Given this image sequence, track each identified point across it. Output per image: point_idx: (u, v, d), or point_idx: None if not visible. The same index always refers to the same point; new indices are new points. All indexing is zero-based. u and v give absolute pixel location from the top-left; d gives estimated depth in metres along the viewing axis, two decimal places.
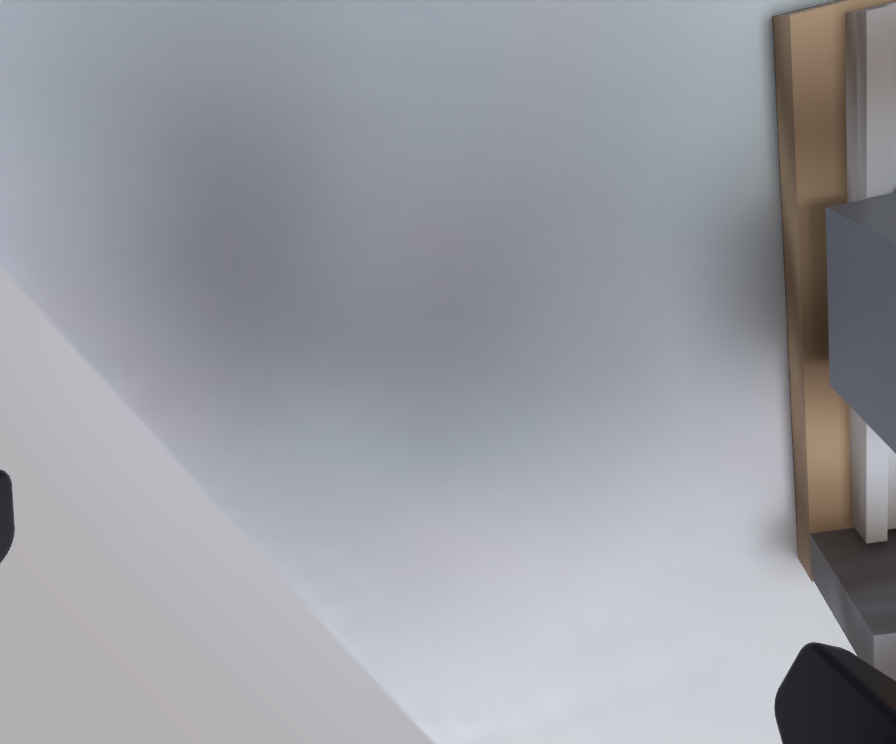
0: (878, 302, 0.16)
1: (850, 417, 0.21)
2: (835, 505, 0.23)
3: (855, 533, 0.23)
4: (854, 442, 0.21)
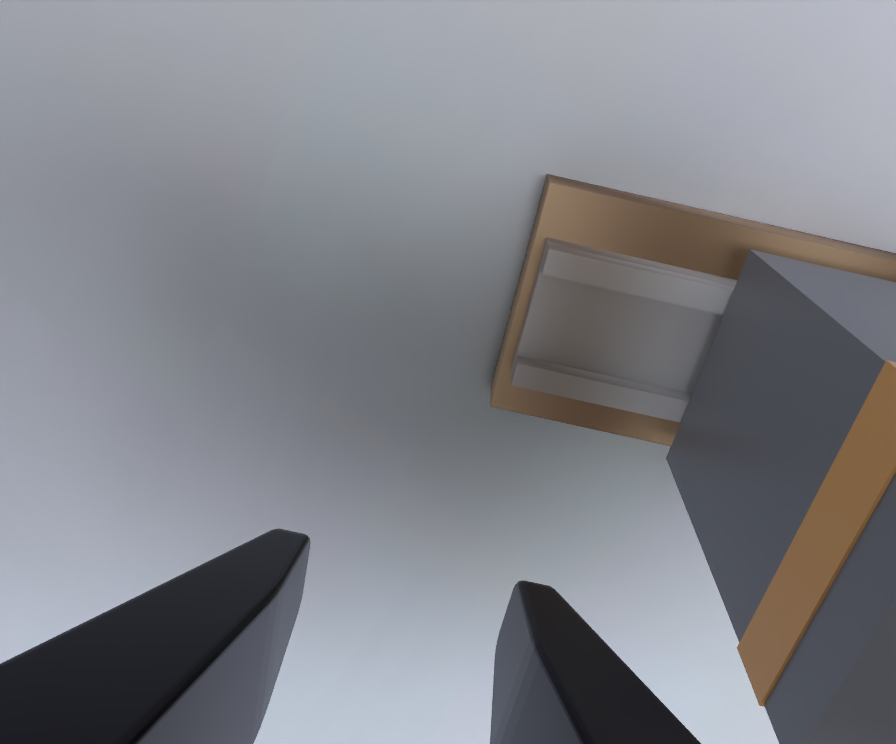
0: None
1: None
2: None
3: None
4: None
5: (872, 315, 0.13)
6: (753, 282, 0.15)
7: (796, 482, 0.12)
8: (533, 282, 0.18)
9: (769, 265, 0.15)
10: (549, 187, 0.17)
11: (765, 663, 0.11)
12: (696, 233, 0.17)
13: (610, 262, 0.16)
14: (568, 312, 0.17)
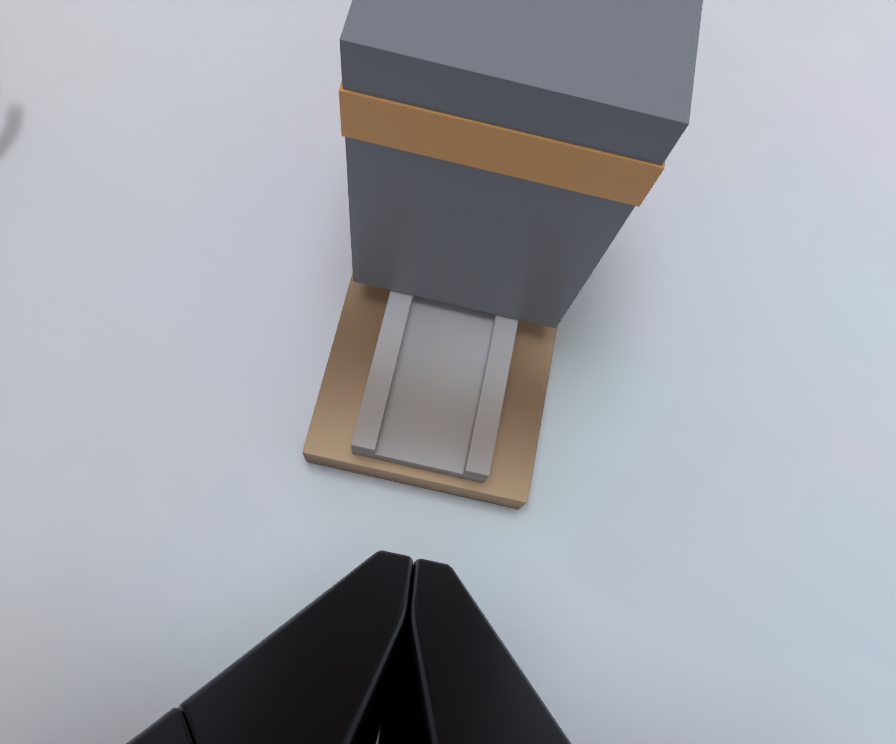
0: None
1: None
2: None
3: None
4: None
5: None
6: (372, 271, 0.18)
7: (473, 187, 0.14)
8: (395, 463, 0.19)
9: (352, 259, 0.18)
10: (306, 452, 0.19)
11: (625, 173, 0.12)
12: (351, 328, 0.20)
13: (364, 390, 0.18)
14: (417, 427, 0.18)
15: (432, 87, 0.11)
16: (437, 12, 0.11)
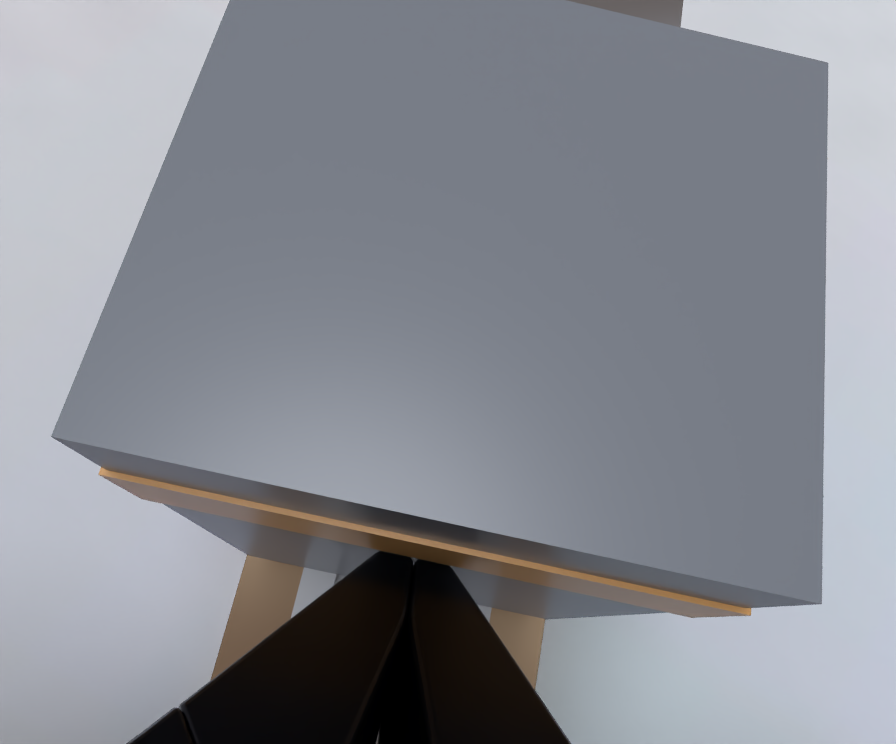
0: None
1: None
2: None
3: None
4: None
5: None
6: (270, 556, 0.12)
7: None
8: None
9: (237, 547, 0.12)
10: None
11: (672, 603, 0.06)
12: (242, 642, 0.13)
13: None
14: None
15: (274, 497, 0.05)
16: (278, 352, 0.05)
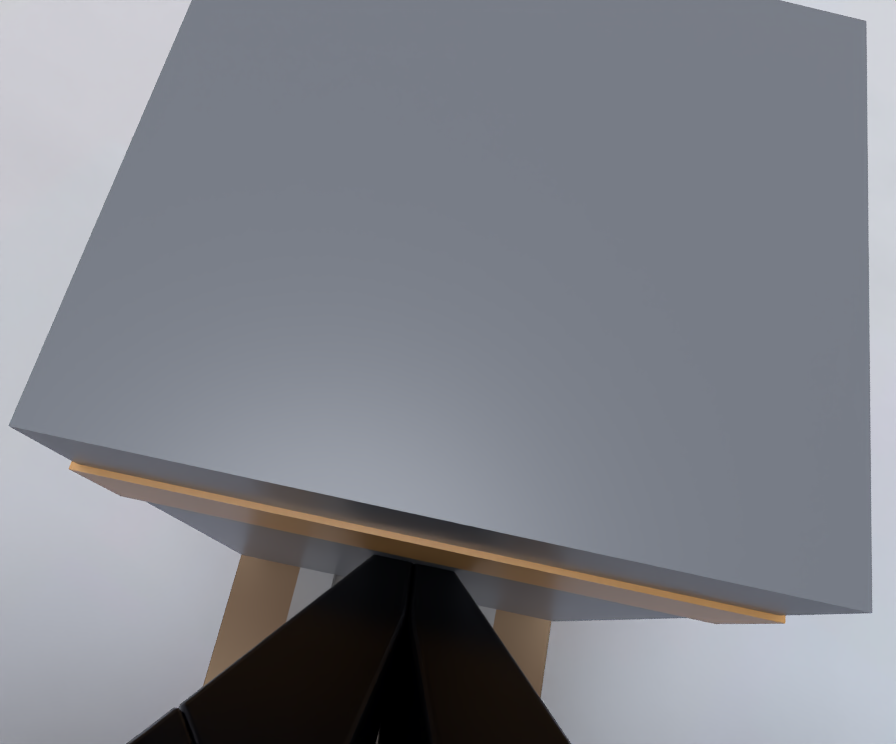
0: None
1: None
2: None
3: None
4: None
5: None
6: (265, 556, 0.12)
7: (395, 556, 0.07)
8: None
9: (230, 546, 0.11)
10: None
11: (697, 609, 0.06)
12: None
13: None
14: None
15: (261, 493, 0.05)
16: (265, 332, 0.05)
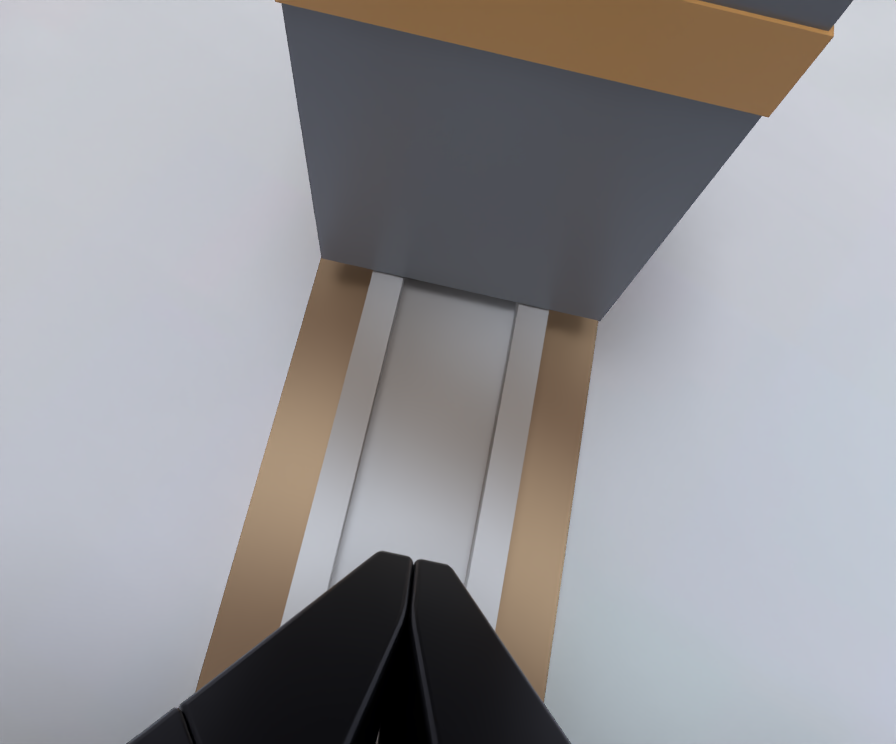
0: None
1: None
2: None
3: None
4: None
5: None
6: (346, 243, 0.13)
7: (493, 94, 0.09)
8: None
9: (317, 225, 0.13)
10: None
11: (759, 50, 0.07)
12: (235, 630, 0.13)
13: None
14: None
15: None
16: None
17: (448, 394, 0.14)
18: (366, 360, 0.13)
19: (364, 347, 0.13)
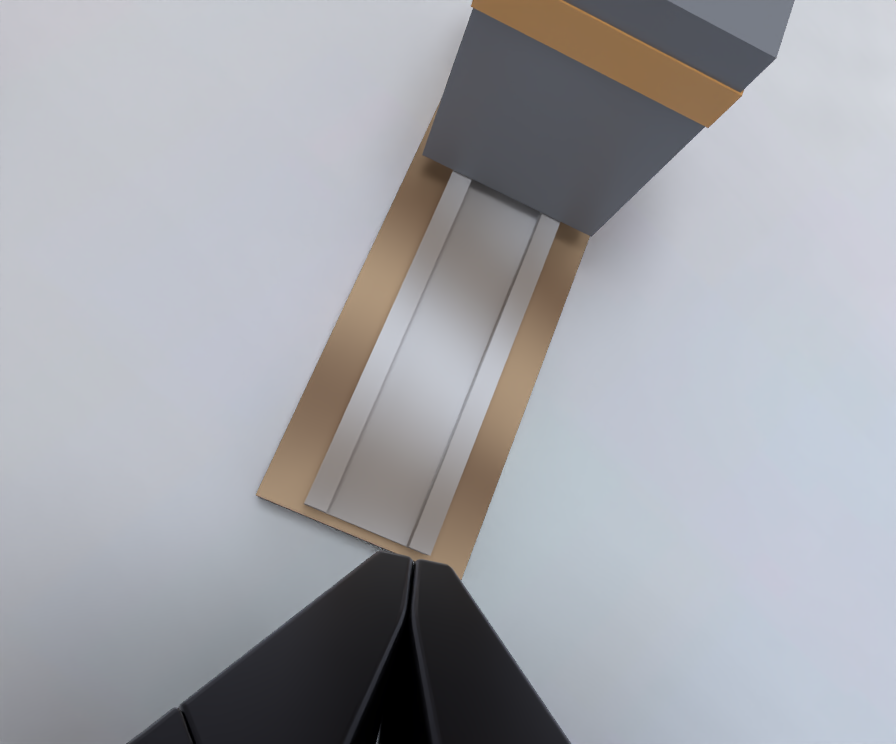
0: None
1: None
2: None
3: None
4: None
5: None
6: (443, 147, 0.20)
7: (570, 81, 0.16)
8: (343, 521, 0.19)
9: (430, 132, 0.19)
10: (259, 495, 0.19)
11: (707, 93, 0.14)
12: (326, 377, 0.20)
13: (327, 451, 0.18)
14: (371, 493, 0.19)
15: None
16: None
17: (484, 262, 0.21)
18: (439, 227, 0.20)
19: (439, 218, 0.20)
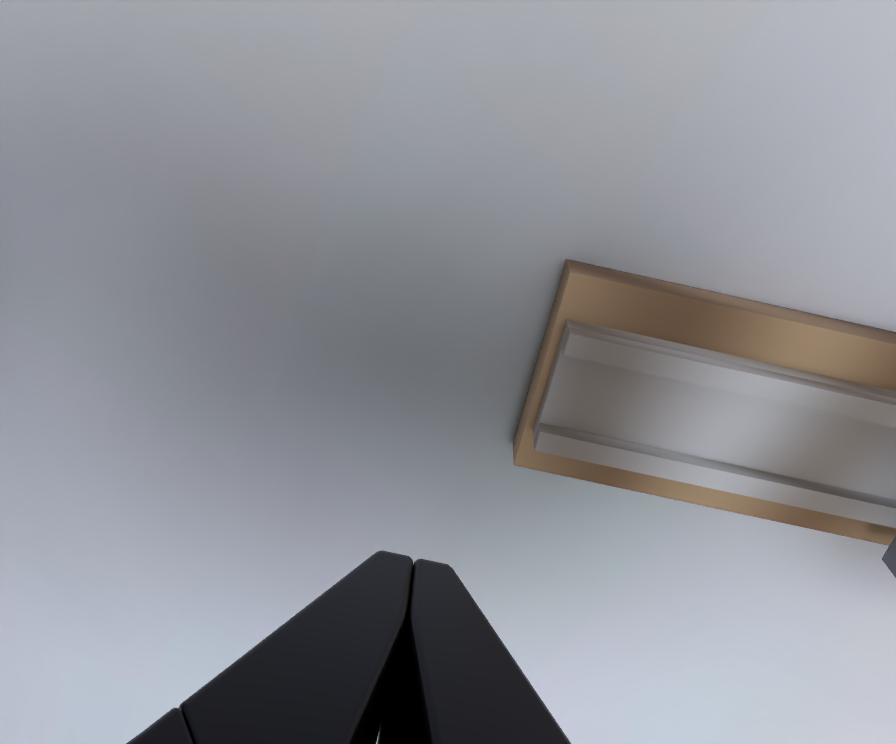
0: None
1: None
2: None
3: None
4: None
5: None
6: None
7: None
8: (554, 357, 0.19)
9: None
10: (569, 275, 0.19)
11: None
12: (701, 316, 0.19)
13: (625, 345, 0.18)
14: (586, 385, 0.19)
15: None
16: None
17: (846, 456, 0.19)
18: (888, 415, 0.18)
19: None
